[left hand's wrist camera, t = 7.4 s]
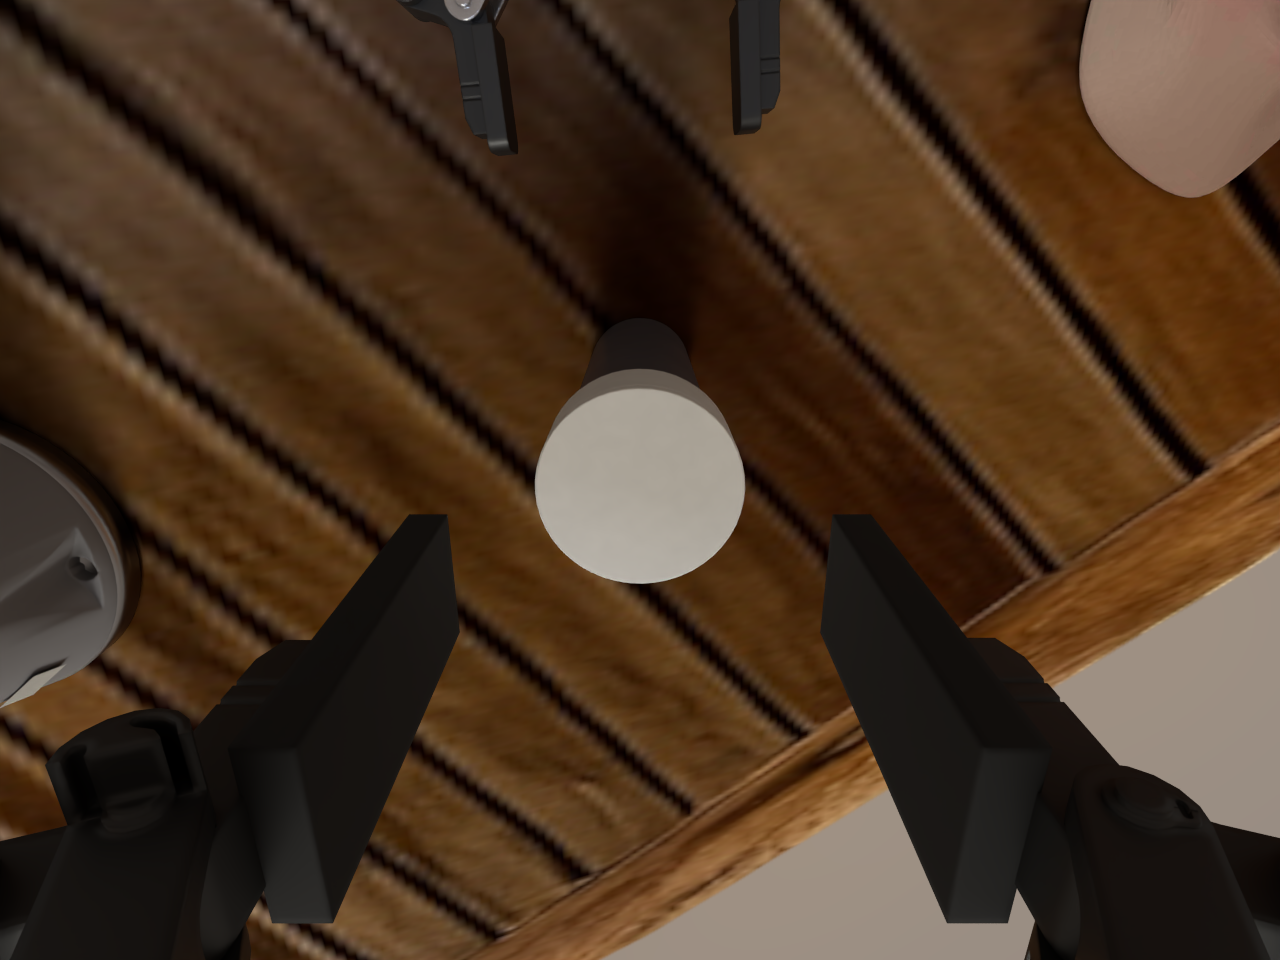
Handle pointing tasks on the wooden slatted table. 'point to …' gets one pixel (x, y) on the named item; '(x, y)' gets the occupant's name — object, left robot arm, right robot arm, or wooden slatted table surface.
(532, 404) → the wooden slatted table surface
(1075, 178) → the wooden slatted table surface
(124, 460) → the wooden slatted table surface
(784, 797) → the wooden slatted table surface
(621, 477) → the lid
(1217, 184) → the anatomical model
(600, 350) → the gray bottle
